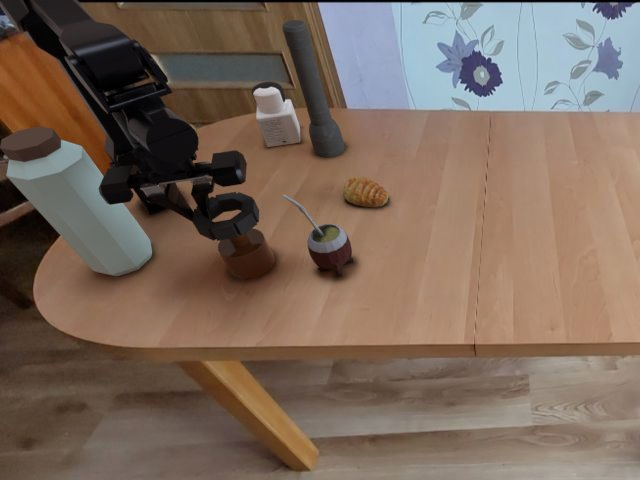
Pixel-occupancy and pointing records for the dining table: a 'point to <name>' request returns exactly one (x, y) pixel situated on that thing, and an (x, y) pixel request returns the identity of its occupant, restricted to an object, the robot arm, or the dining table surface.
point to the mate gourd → (327, 244)
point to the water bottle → (75, 200)
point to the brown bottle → (247, 255)
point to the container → (275, 115)
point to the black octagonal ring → (233, 225)
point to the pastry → (364, 192)
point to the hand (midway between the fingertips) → (202, 219)
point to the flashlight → (313, 91)
